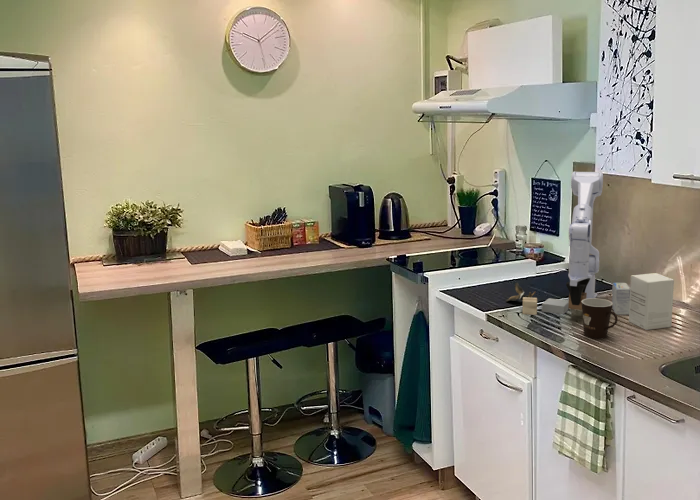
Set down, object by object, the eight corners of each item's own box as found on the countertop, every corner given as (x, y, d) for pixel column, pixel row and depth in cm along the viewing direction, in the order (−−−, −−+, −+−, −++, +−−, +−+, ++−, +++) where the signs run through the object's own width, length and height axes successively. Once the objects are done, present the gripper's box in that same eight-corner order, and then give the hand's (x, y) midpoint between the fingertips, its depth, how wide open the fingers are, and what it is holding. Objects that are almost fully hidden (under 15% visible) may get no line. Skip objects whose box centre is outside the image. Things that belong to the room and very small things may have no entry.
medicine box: (629, 315, 223) (631, 289, 222) (615, 314, 224) (616, 288, 222) (625, 307, 231) (626, 282, 229) (611, 307, 232) (612, 282, 230)
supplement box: (653, 318, 219) (656, 272, 216) (672, 327, 211) (675, 279, 208) (627, 321, 218) (630, 274, 214) (645, 330, 209) (648, 281, 206)
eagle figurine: (538, 298, 240) (516, 289, 246) (534, 285, 235) (513, 275, 242) (524, 314, 237) (503, 304, 244) (521, 300, 233) (499, 290, 239)
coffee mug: (576, 330, 211) (577, 298, 209) (605, 329, 210) (607, 297, 208) (588, 344, 199) (589, 310, 197) (618, 343, 199) (620, 309, 197)
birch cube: (522, 310, 232) (523, 297, 231) (536, 310, 231) (537, 297, 230) (522, 314, 228) (522, 301, 227) (536, 315, 227) (537, 301, 226)
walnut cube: (571, 304, 224) (572, 291, 223) (586, 306, 222) (586, 292, 221) (568, 308, 221) (568, 294, 220) (583, 310, 218) (583, 296, 217)
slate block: (548, 306, 236) (548, 298, 235) (569, 309, 232) (569, 300, 231) (542, 312, 230) (542, 303, 229) (563, 315, 226) (563, 306, 226)
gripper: (587, 267, 210) (585, 310, 213) (597, 256, 222) (595, 297, 225) (563, 265, 213) (562, 307, 216) (574, 254, 226) (572, 295, 229)
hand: (577, 302), depth 221 cm, fingers closed on walnut cube, 4 cm apart
